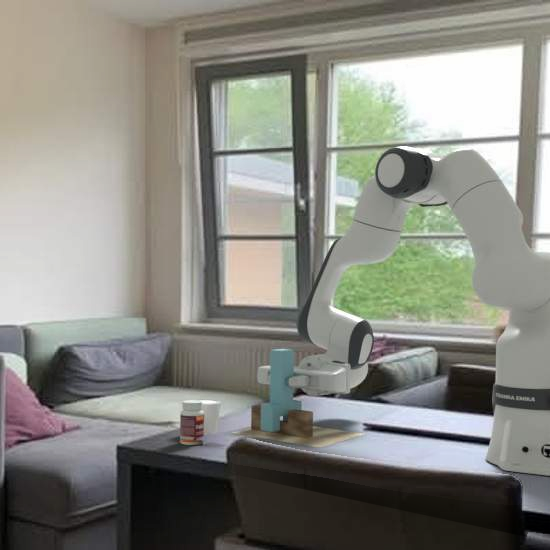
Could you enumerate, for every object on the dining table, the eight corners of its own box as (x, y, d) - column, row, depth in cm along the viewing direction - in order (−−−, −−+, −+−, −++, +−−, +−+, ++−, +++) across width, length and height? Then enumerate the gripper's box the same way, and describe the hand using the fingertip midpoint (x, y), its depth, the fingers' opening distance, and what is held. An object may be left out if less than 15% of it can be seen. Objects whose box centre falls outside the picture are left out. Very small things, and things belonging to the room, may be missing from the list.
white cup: (200, 430, 171) (200, 398, 171) (226, 433, 168) (226, 400, 168) (181, 435, 165) (181, 402, 165) (208, 439, 162) (208, 405, 162)
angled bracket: (301, 424, 165) (302, 348, 165) (272, 431, 157) (273, 351, 157) (289, 422, 167) (290, 347, 167) (260, 429, 159) (261, 350, 159)
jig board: (366, 441, 162) (366, 409, 162) (319, 455, 148) (320, 421, 148) (280, 427, 175) (281, 398, 175) (231, 439, 161) (231, 408, 161)
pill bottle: (199, 446, 155) (200, 403, 155) (176, 444, 156) (177, 402, 156) (206, 441, 160) (207, 400, 160) (184, 440, 161) (184, 399, 161)
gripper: (279, 357, 178) (240, 361, 167) (356, 364, 166) (320, 369, 155) (279, 384, 178) (240, 391, 167) (356, 394, 166) (319, 401, 155)
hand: (279, 381), depth 161 cm, fingers closed on angled bracket, 3 cm apart
